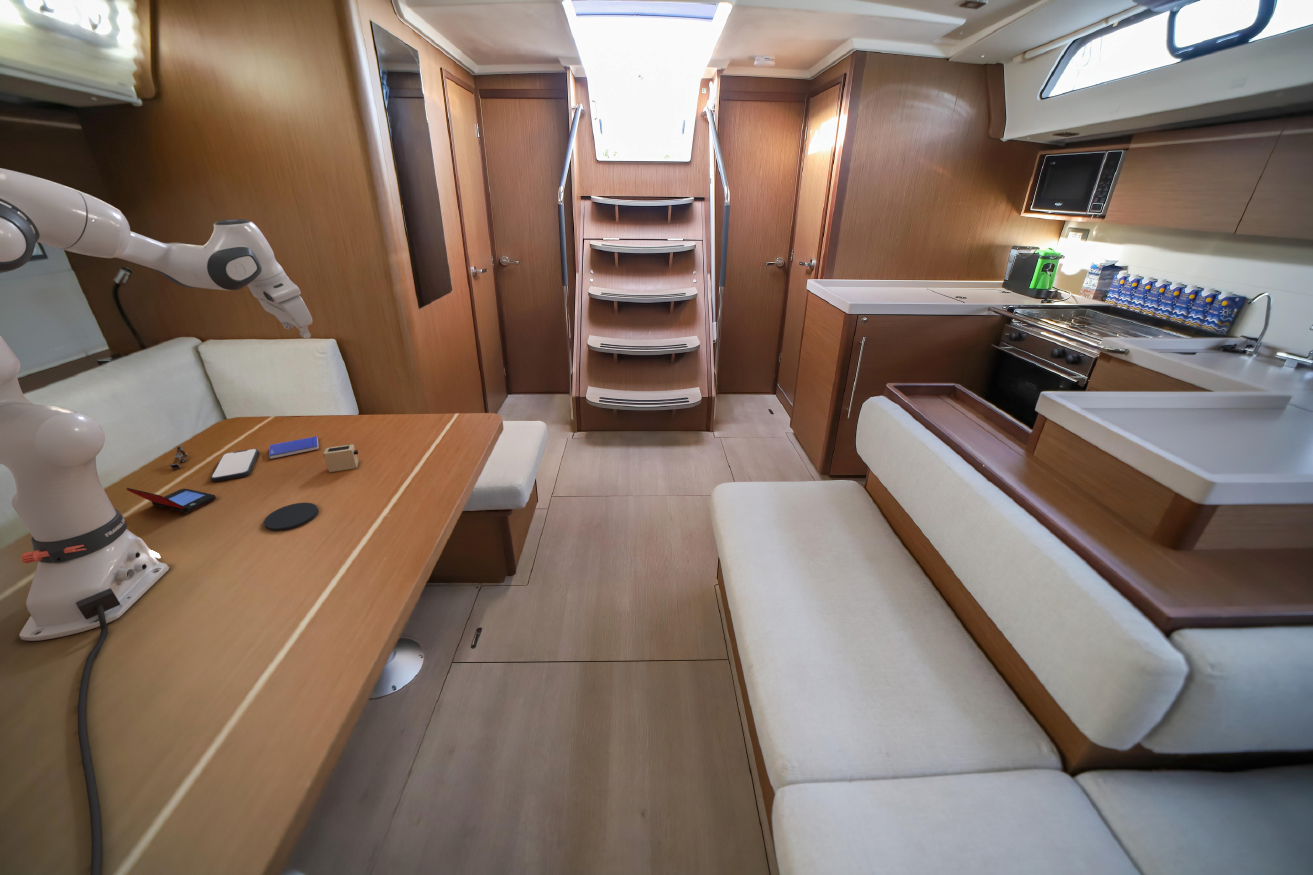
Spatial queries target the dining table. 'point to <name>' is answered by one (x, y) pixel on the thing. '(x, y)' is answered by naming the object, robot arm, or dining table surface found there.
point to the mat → (291, 516)
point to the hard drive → (293, 447)
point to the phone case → (235, 465)
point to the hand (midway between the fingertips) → (298, 332)
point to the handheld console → (178, 499)
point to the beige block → (341, 458)
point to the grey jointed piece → (178, 456)
